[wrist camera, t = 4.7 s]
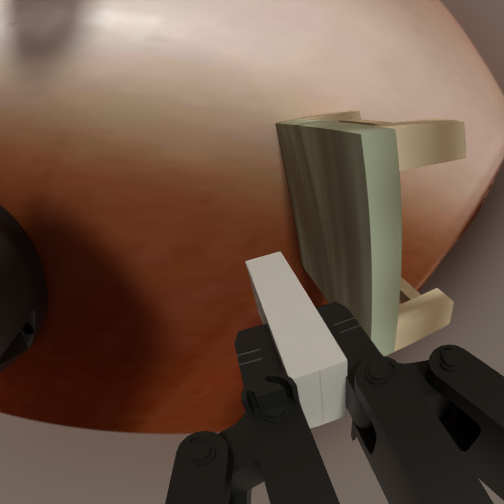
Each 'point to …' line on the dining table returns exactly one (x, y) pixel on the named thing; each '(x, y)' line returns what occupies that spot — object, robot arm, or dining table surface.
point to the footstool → (364, 215)
